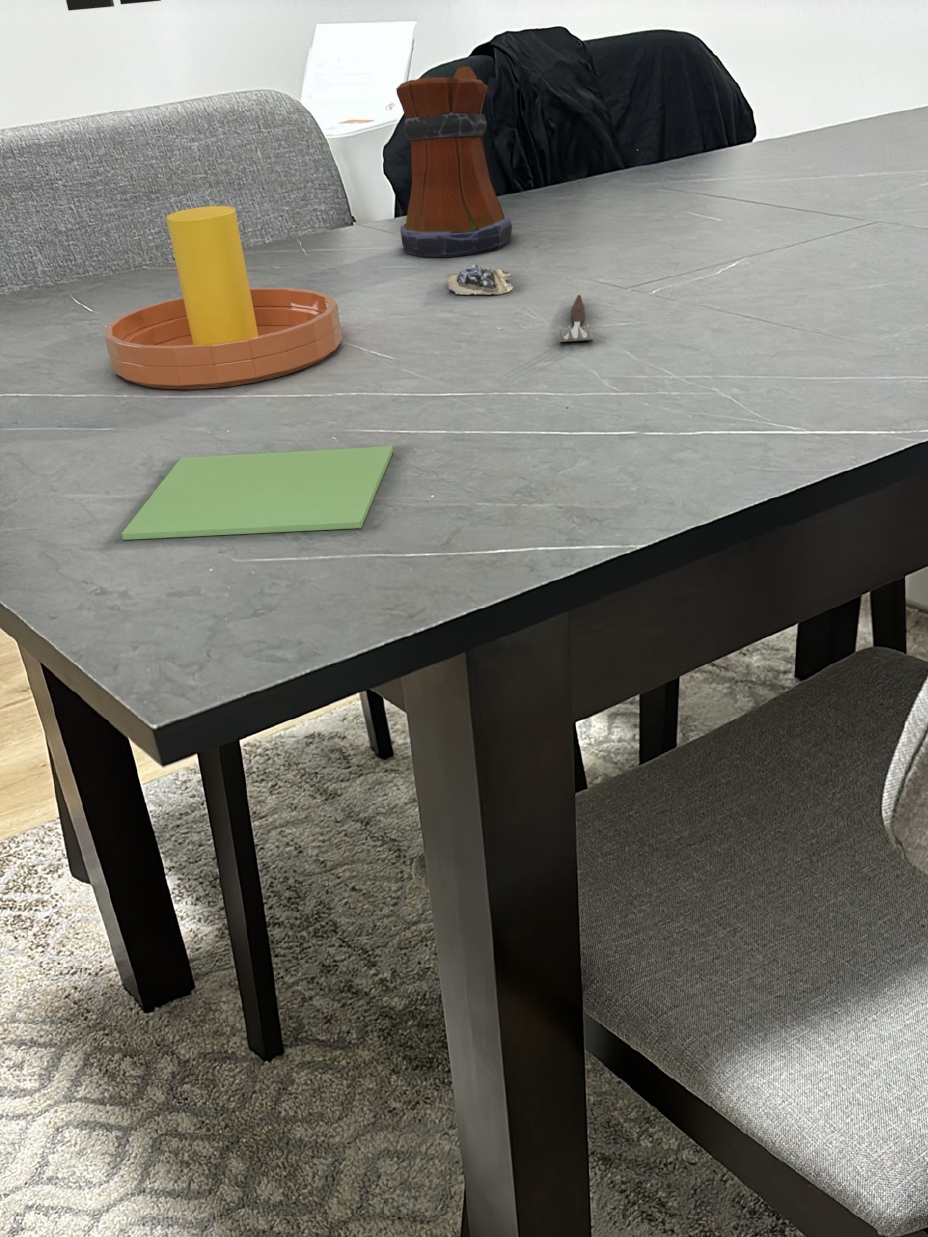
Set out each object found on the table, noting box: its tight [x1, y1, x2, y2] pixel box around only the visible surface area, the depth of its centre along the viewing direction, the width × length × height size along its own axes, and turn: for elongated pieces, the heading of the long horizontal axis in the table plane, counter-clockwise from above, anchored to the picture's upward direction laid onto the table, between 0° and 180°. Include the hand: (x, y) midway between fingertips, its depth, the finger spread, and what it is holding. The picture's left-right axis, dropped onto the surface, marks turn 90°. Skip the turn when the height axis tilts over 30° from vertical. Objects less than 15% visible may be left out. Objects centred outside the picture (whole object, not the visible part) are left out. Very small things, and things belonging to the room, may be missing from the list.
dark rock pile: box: [445, 263, 514, 296], centre depth 120 cm, size 7×8×2 cm
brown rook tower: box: [395, 66, 513, 258], centre depth 134 cm, size 18×12×15 cm, turn 171°
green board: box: [121, 445, 394, 541], centre depth 81 cm, size 14×13×1 cm
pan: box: [104, 287, 343, 390], centre depth 107 cm, size 18×18×3 cm
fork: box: [558, 294, 594, 343], centre depth 107 cm, size 3×16×2 cm, turn 177°
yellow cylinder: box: [166, 205, 258, 345], centre depth 104 cm, size 5×5×10 cm
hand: (118, 6), depth 88 cm, fingers open, 13 cm apart
